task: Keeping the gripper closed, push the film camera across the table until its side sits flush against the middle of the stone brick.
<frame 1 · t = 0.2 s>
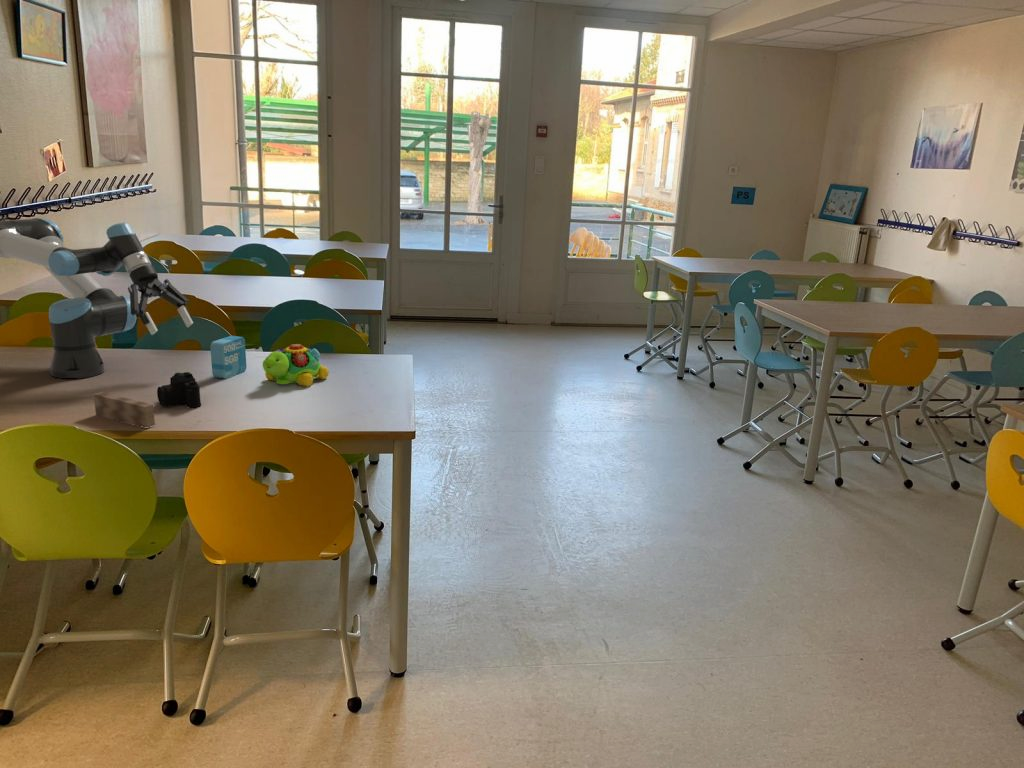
hand: (172, 328, 235), 16 cm above the table, tool tilted 35°, fingers open, 13 cm apart
stone brick: (125, 420, 201), on the table
film camera: (178, 404, 216), on the table
data package: (230, 375, 245), on the table
turtle toy: (292, 382, 241), on the table
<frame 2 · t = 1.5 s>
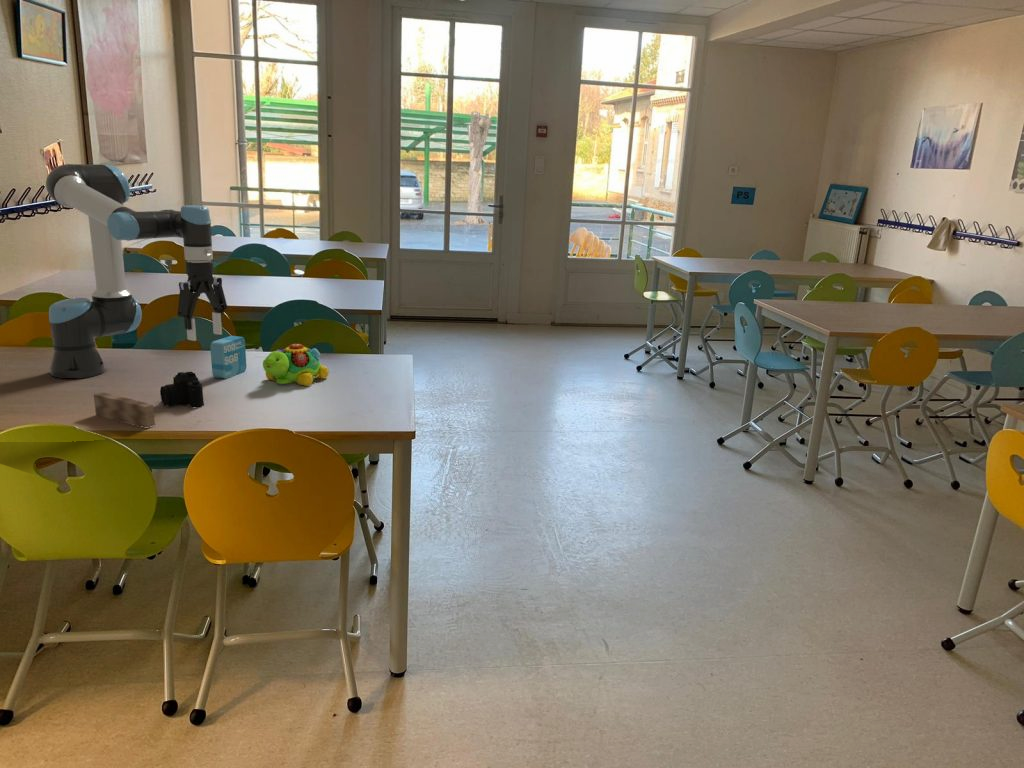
hand: (205, 336, 221), 18 cm above the table, tool pointing down, fingers open, 9 cm apart
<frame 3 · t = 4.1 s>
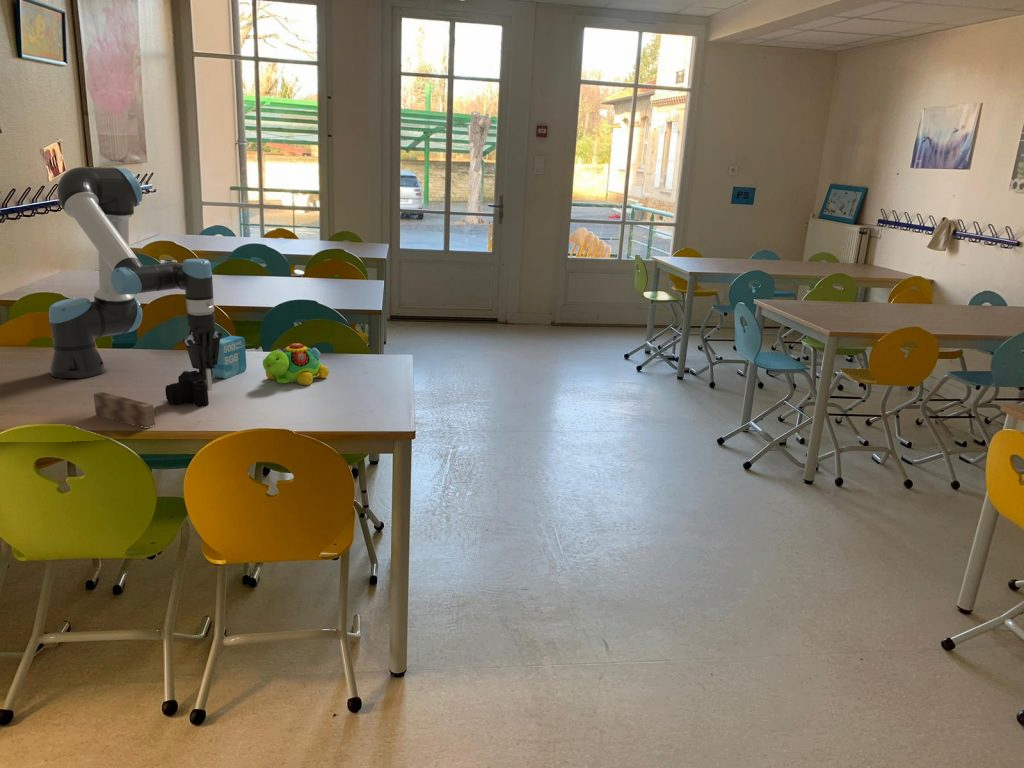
hand: (207, 389, 225), 1 cm above the table, tool pointing down, fingers closed
film camera: (186, 402, 217), on the table, touching gripper
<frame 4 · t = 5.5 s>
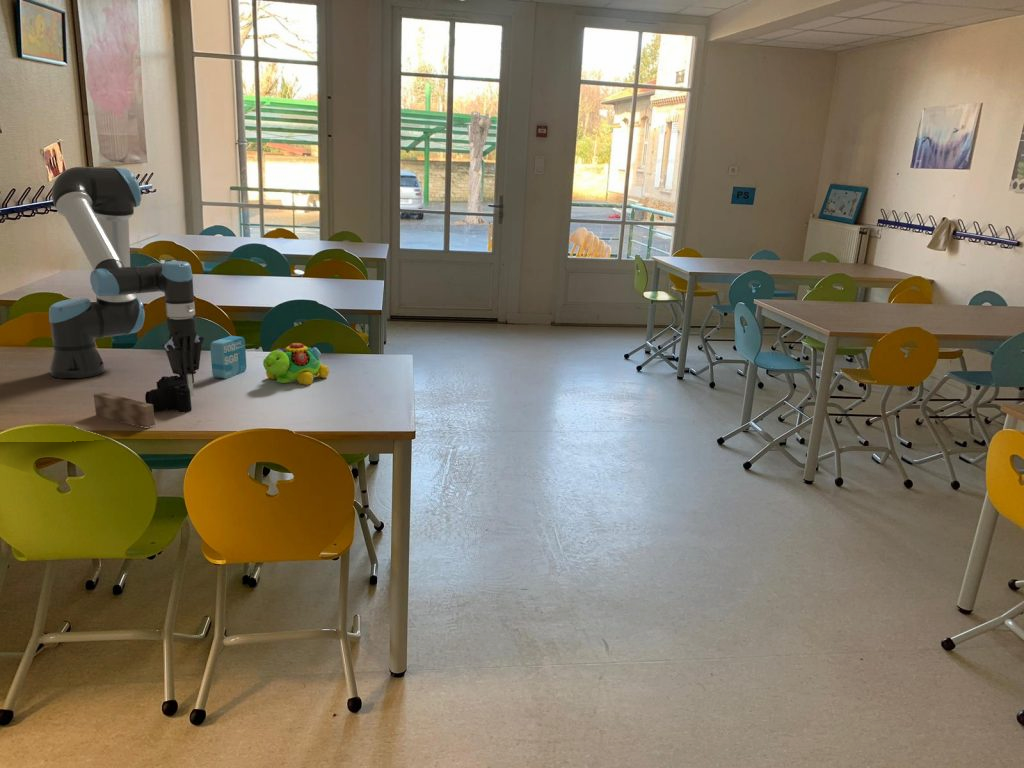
hand: (188, 395, 218), 1 cm above the table, tool pointing down, fingers closed
film camera: (167, 409, 211), on the table, touching gripper
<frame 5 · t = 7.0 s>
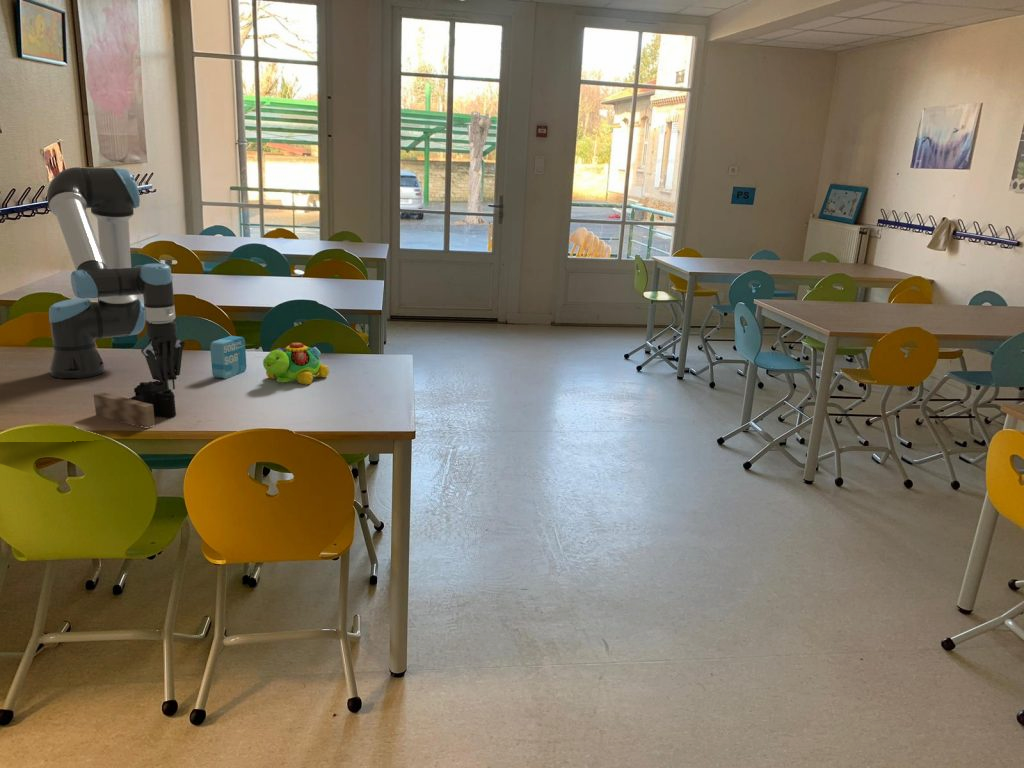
hand: (169, 401, 213), 1 cm above the table, tool pointing down, fingers closed
film camera: (148, 415, 206), on the table, touching gripper, stone brick
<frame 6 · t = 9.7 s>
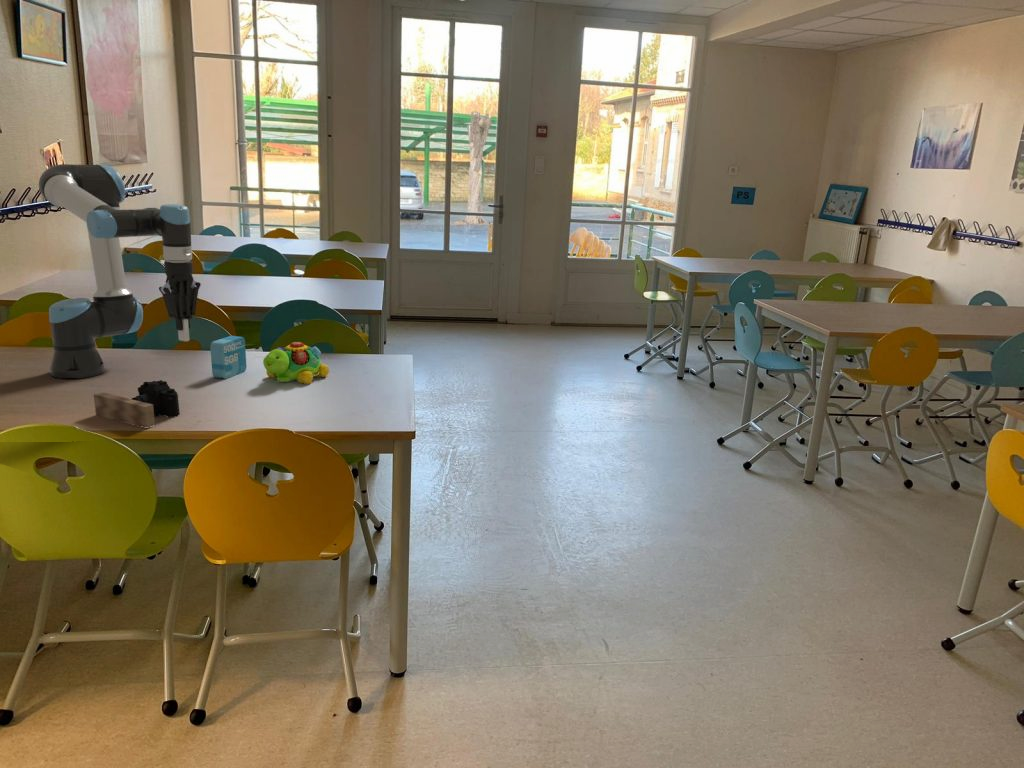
hand: (184, 340, 220), 17 cm above the table, tool pointing down, fingers closed
film camera: (152, 414, 207), on the table
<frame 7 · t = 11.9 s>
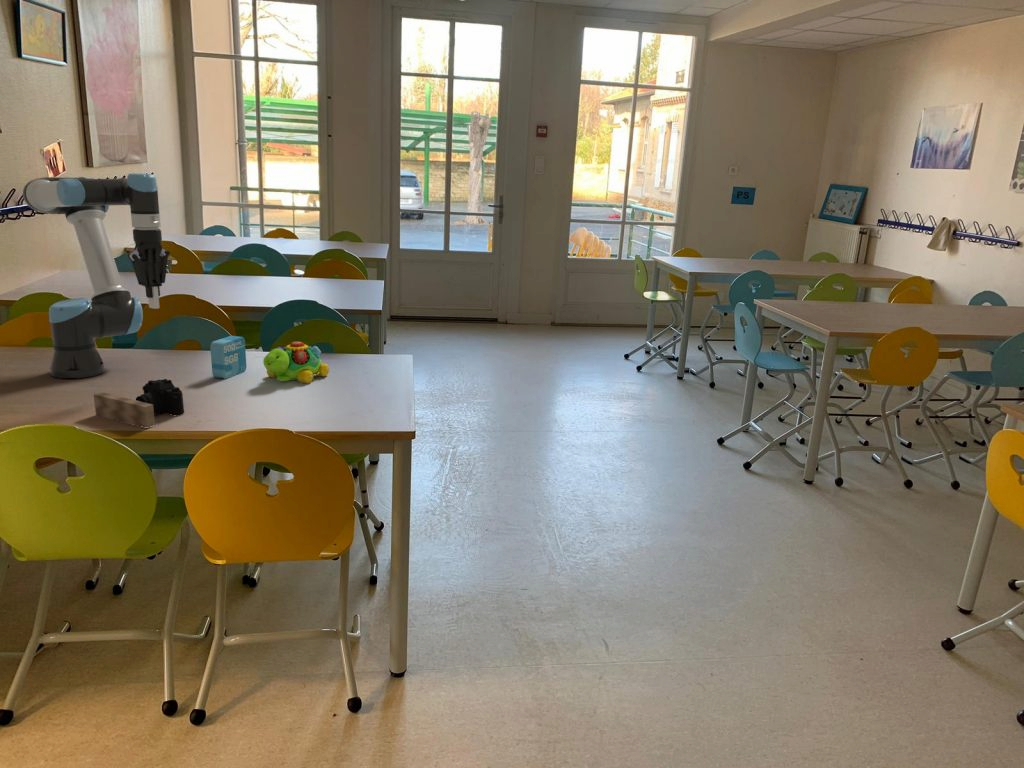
hand: (154, 307, 224), 24 cm above the table, tool pointing down, fingers closed
film camera: (157, 413, 208), on the table
at the end: film camera 1.4 cm from the target spot on the table beside the stone brick, on the table; film camera tilted 0° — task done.
